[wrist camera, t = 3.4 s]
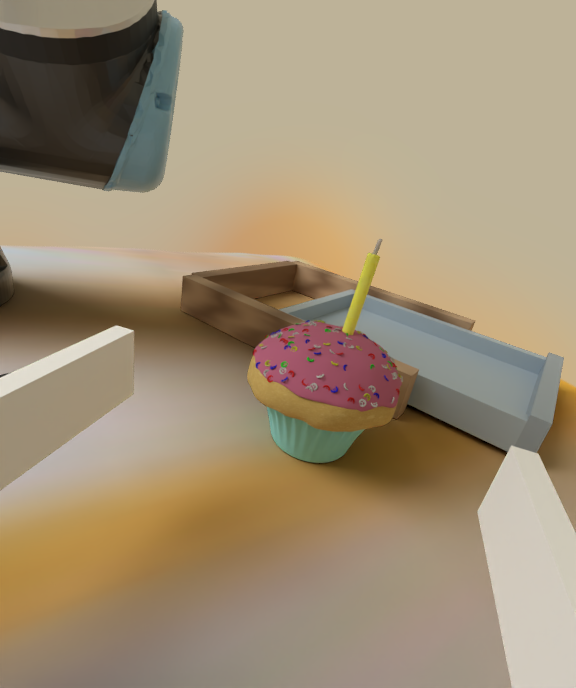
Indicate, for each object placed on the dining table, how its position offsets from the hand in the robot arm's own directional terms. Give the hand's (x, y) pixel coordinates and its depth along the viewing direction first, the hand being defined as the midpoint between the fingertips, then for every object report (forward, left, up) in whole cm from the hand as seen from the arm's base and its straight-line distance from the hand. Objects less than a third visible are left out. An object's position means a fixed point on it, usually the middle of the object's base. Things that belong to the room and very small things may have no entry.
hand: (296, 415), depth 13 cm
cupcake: (-3, +8, -7) cm, 11 cm away
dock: (-12, +24, -7) cm, 27 cm away
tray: (-3, +24, -6) cm, 25 cm away
